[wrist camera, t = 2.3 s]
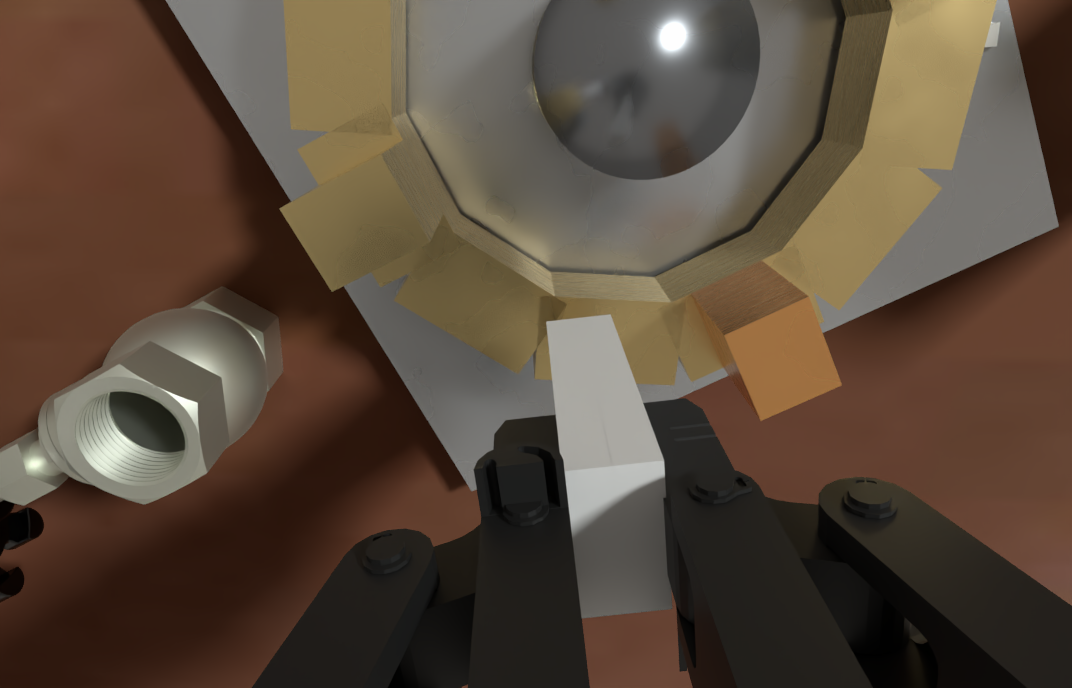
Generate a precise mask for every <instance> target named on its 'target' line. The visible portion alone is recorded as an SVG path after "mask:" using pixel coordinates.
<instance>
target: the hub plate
mask: <svg viewBox="0 0 1072 688" xmlns="http://www.w3.org/2000/svg"><path fill="white" fill-rule="evenodd" d="M166 2H167V3H168V5H169V7H170V8H171V10H172V11H173V13H174V15H175V16H176V18H177V19H178V21H179V23H180V24H181V26H182V27H183V29H184V31H185V32H186V34H187V35H188V37H189V39H190V40H191V42H192V43H193V45H194V47H195V48H196V50H197V51H198V53H199V55H200V56H201V58H202V59H203V61H204V63H205V64H206V66H207V68H208V69H209V71H210V72H211V74H212V76H213V77H214V79H215V80H216V82H217V84H218V85H219V87H220V88H221V90H222V92H223V93H224V95H225V96H226V98H227V100H228V101H229V103H230V104H231V106H232V108H233V109H234V111H235V112H236V114H237V116H238V117H239V119H240V120H241V122H242V124H243V125H244V127H245V128H246V130H247V132H248V133H249V135H250V136H251V138H252V140H253V141H254V143H255V144H256V146H257V148H258V149H259V151H260V153H261V154H262V156H263V157H264V159H265V161H266V162H267V164H268V165H269V167H270V169H271V170H272V172H273V173H274V175H275V177H276V178H277V180H278V181H279V183H280V185H281V186H282V188H283V189H284V191H285V193H286V194H287V196H288V197H289V199H290V201H293V200H294V199H296V198H298V197H299V196H301V195H303V194H304V193H306V192H308V191H309V190H311V189H313V188H314V187H316V186H318V183H317V182H316V180H315V178H314V177H313V175H312V173H311V172H310V170H309V169H308V167H307V165H306V164H305V162H304V160H303V159H302V157H301V155H300V154H299V152H298V150H297V149H299V148H301V147H303V146H305V145H306V144H308V143H310V142H312V141H314V140H316V139H317V138H319V137H321V136H323V135H325V134H327V133H328V132H325V131H308V130H292V129H291V124H290V107H289V89H288V72H287V55H286V37H285V20H284V3H283V0H166ZM845 20H846V16H845V13H844V9H843V6H842V3H841V0H406V114H407V116H408V118H409V119H410V121H411V123H412V125H413V127H414V129H415V131H416V132H417V134H418V136H419V138H420V140H421V142H422V144H423V145H424V147H425V149H426V151H427V153H428V155H429V157H430V158H431V160H432V162H433V164H434V166H435V168H436V170H437V171H438V173H439V175H440V177H441V179H442V181H443V183H444V184H445V186H446V188H447V190H448V192H449V194H450V196H451V197H452V199H453V201H454V203H455V205H456V207H457V209H458V210H459V212H460V214H461V215H463V216H464V217H466V218H467V219H469V220H470V221H472V222H473V223H475V224H477V225H478V226H480V227H481V228H483V229H484V230H486V231H488V232H489V233H491V234H492V235H494V236H495V237H497V238H499V239H500V240H502V241H503V242H505V243H506V244H508V245H509V246H511V247H513V248H514V249H516V250H517V251H519V252H520V253H522V254H524V255H525V256H527V257H528V258H530V259H531V260H533V261H535V262H536V263H538V264H539V265H541V266H542V267H544V268H545V269H547V270H549V271H550V272H567V273H586V274H605V275H624V276H643V277H655V276H657V275H660V274H662V273H664V272H666V271H668V270H670V269H672V268H674V267H676V266H678V265H681V264H683V263H685V262H687V261H689V260H691V259H693V258H695V257H697V256H699V255H701V254H704V253H706V252H708V251H710V250H712V249H714V248H716V247H718V246H720V245H722V244H724V243H727V242H729V241H731V240H733V239H735V238H737V237H739V236H741V235H743V234H745V233H747V232H750V231H751V230H752V229H753V228H754V226H755V225H756V224H757V223H758V221H759V220H760V219H761V217H762V216H763V215H764V213H765V212H766V211H767V210H768V208H769V207H770V206H771V204H772V203H773V202H774V200H775V199H776V198H777V197H778V195H779V194H780V193H781V191H782V190H783V189H784V187H785V186H786V185H787V184H788V182H789V181H790V180H791V178H792V177H793V176H794V174H795V173H796V172H797V171H798V169H799V168H800V167H801V165H802V164H803V163H804V161H805V160H806V159H807V158H808V156H809V155H810V154H811V152H812V151H813V150H814V148H815V147H816V146H817V145H818V143H819V142H820V141H821V139H822V136H823V131H824V126H825V121H826V116H827V111H828V106H829V101H830V95H831V90H832V85H833V80H834V75H835V70H836V65H837V60H838V55H839V50H840V45H841V40H842V35H843V30H844V25H845ZM918 169H919V170H920V171H921V172H923V173H924V174H925V175H926V176H928V177H929V178H930V179H932V180H933V181H934V182H935V183H937V184H938V185H939V186H940V187H942V189H941V190H940V192H939V193H938V194H937V195H936V196H935V198H934V199H933V200H932V201H931V202H930V204H929V205H928V206H927V207H926V208H925V209H924V211H923V212H922V213H921V214H920V215H919V217H918V218H917V219H916V220H915V221H914V222H913V224H912V225H911V226H910V227H909V228H908V230H907V231H906V232H905V233H904V234H903V236H902V237H901V238H900V239H899V240H898V241H897V243H896V244H895V245H894V246H893V247H892V249H891V250H890V251H889V252H888V253H887V255H886V256H885V257H884V258H883V259H882V260H881V262H880V263H879V264H878V265H877V266H876V268H875V269H874V270H873V271H872V272H871V273H870V275H869V276H868V277H867V278H866V279H865V281H864V282H863V283H862V284H861V285H860V287H859V288H858V289H857V290H856V291H855V292H854V294H853V295H852V296H851V297H850V298H849V300H848V301H847V302H846V303H845V304H844V306H843V307H842V308H841V309H840V310H838V309H836V308H835V307H833V306H832V305H831V304H829V303H828V302H826V301H825V300H823V299H822V298H821V297H819V296H818V295H816V294H815V293H814V295H815V298H816V300H817V303H818V306H819V308H820V311H821V314H822V317H823V319H824V322H823V323H821V324H819V325H820V327H821V330H822V333H824V332H826V331H828V330H830V329H833V328H835V327H837V326H839V325H842V324H844V323H846V322H848V321H850V320H853V319H855V318H857V317H859V316H861V315H864V314H866V313H868V312H870V311H873V310H875V309H877V308H879V307H881V306H884V305H886V304H888V303H890V302H893V301H895V300H897V299H899V298H901V297H904V296H906V295H908V294H910V293H912V292H915V291H917V290H919V289H921V288H924V287H926V286H928V285H930V284H932V283H935V282H937V281H939V280H941V279H943V278H946V277H948V276H950V275H952V274H955V273H957V272H959V271H961V270H963V269H966V268H968V267H970V266H972V265H975V264H977V263H979V262H981V261H983V260H986V259H988V258H990V257H992V256H994V255H997V254H999V253H1001V252H1003V251H1006V250H1008V249H1010V248H1012V247H1014V246H1017V245H1019V244H1021V243H1023V242H1025V241H1028V240H1030V239H1032V238H1034V237H1037V236H1039V235H1041V234H1043V233H1045V232H1048V231H1050V230H1052V229H1054V228H1057V227H1059V225H1058V220H1057V216H1056V211H1055V207H1054V203H1053V198H1052V194H1051V189H1050V185H1049V181H1048V176H1047V172H1046V167H1045V163H1044V158H1043V154H1042V150H1041V145H1040V141H1039V136H1038V132H1037V128H1036V123H1035V119H1034V114H1033V110H1032V105H1031V101H1030V97H1029V92H1028V88H1027V83H1026V79H1025V75H1024V70H1023V66H1022V61H1021V57H1020V52H1019V48H1018V44H1017V39H1016V35H1015V30H1014V26H1013V22H1012V17H1011V13H1010V8H1009V4H1008V0H997V2H996V5H995V9H994V13H993V17H992V21H991V24H990V28H989V32H988V36H987V39H986V43H985V47H984V51H983V55H982V58H981V62H980V66H979V70H978V74H977V77H976V81H975V85H974V89H973V92H972V96H971V100H970V104H969V108H968V111H967V115H966V119H965V123H964V127H963V130H962V134H961V138H960V142H959V145H958V149H957V153H956V157H955V161H954V164H953V168H952V170H944V169H927V168H918ZM406 275H407V274H406ZM406 275H404V276H402V277H400V278H398V279H396V280H394V281H392V282H390V283H388V284H386V285H384V286H383V287H381V288H380V286H379V284H378V283H377V281H376V279H375V278H374V276H373V274H372V273H371V272H370V273H369V274H367V275H365V276H363V277H361V278H359V279H357V280H355V281H353V282H351V283H349V284H347V285H345V286H344V287H345V289H346V290H347V292H348V294H349V295H350V297H351V298H352V300H353V302H354V303H355V305H356V306H357V308H358V310H359V311H360V313H361V314H362V316H363V318H364V319H365V321H366V323H367V324H368V326H369V327H370V329H371V331H372V332H373V334H374V335H375V337H376V339H377V340H378V342H379V343H380V345H381V347H382V348H383V350H384V351H385V353H386V355H387V356H388V358H389V359H390V361H391V363H392V364H393V366H394V367H395V369H396V371H397V372H398V374H399V375H400V377H401V379H402V380H403V382H404V383H405V385H406V387H407V388H408V390H409V391H410V393H411V395H412V396H413V398H414V400H415V401H416V403H417V404H418V406H419V408H420V409H421V411H422V412H423V414H424V416H425V417H426V419H427V420H428V422H429V424H430V425H431V427H432V428H433V430H434V432H435V433H436V435H437V436H438V438H439V440H440V441H441V443H442V444H443V446H444V448H445V449H446V451H447V452H448V454H449V456H450V457H451V459H452V460H453V462H454V464H455V465H456V467H457V468H458V470H459V472H460V473H461V475H462V476H463V478H464V480H465V481H466V483H467V485H468V486H469V488H470V489H471V491H474V490H476V489H477V487H476V481H475V475H474V467H475V465H476V463H477V461H478V460H479V459H480V458H481V457H482V456H484V455H485V454H486V453H487V452H489V451H491V450H493V446H494V434H495V433H496V431H497V430H498V429H499V428H500V426H501V425H502V424H503V423H504V422H505V420H511V419H520V418H529V417H538V416H547V415H556V412H555V402H554V393H553V383H552V380H541V379H535V377H534V364H533V354H532V356H531V357H530V358H529V360H528V361H527V363H526V364H525V366H524V367H523V368H522V370H521V371H520V373H519V374H517V373H515V372H513V371H512V370H510V369H508V368H507V367H505V366H503V365H502V364H500V363H498V362H496V361H495V360H493V359H491V358H490V357H488V356H486V355H485V354H483V353H481V352H480V351H478V350H476V349H475V348H473V347H471V346H469V345H468V344H466V343H464V342H463V341H461V340H459V339H458V338H456V337H454V336H453V335H451V334H449V333H448V332H446V331H444V330H443V329H441V328H439V327H437V326H436V325H434V324H432V323H431V322H429V321H427V320H426V319H424V318H422V317H421V316H419V315H417V314H416V313H414V312H412V311H410V310H409V309H407V308H405V307H404V306H402V305H400V304H399V303H397V302H395V301H394V299H395V297H396V295H397V293H398V291H399V289H400V287H401V285H402V283H403V281H404V279H405V277H406ZM726 376H729V375H728V374H727V372H726V371H725V370H724V368H722V369H719V370H717V371H715V372H713V373H710V374H708V375H706V376H704V377H702V378H699V379H697V380H695V381H693V382H691V381H690V379H689V377H688V375H687V374H686V372H685V370H684V368H683V367H682V365H681V363H680V361H679V360H678V364H677V371H676V378H675V385H654V384H636V385H637V388H638V391H639V393H640V396H641V399H642V401H643V403H647V402H656V401H665V400H674V399H678V398H680V397H682V396H684V395H686V394H689V393H691V392H693V391H695V390H697V389H700V388H702V387H704V386H706V385H709V384H711V383H713V382H715V381H717V380H720V379H722V378H724V377H726Z"/></svg>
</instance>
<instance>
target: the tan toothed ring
mask: <svg viewBox="0 0 1072 688" xmlns="http://www.w3.org/2000/svg"><path fill="white" fill-rule="evenodd" d="M996 2H997V0H841V3H842V6H843V9H844V13H845V16H846V20H845V25H844V30H843V35H842V40H841V45H840V50H839V55H838V60H837V65H836V70H835V75H834V80H833V85H832V90H831V95H830V101H829V106H828V111H827V116H826V121H825V126H824V131H823V136H822V139H821V141H820V142H819V143H818V145H817V146H816V147H815V148H814V150H813V151H812V152H811V154H810V155H809V156H808V158H807V159H806V160H805V161H804V163H803V164H802V165H801V167H800V168H799V169H798V171H797V172H796V173H795V174H794V176H793V177H792V178H791V180H790V181H789V182H788V184H787V185H786V186H785V187H784V189H783V190H782V191H781V193H780V194H779V195H778V197H777V198H776V199H775V200H774V202H773V203H772V204H771V206H770V207H769V208H768V210H767V211H766V212H765V213H764V215H763V216H762V217H761V219H760V220H759V221H758V223H757V224H756V225H755V226H754V228H753V229H752V230H751V231H750V232H747V233H745V234H743V235H741V236H739V237H737V238H735V239H733V240H731V241H729V242H727V243H724V244H722V245H720V246H718V247H716V248H714V249H712V250H710V251H708V252H706V253H704V254H701V255H699V256H697V257H695V258H693V259H691V260H689V261H687V262H685V263H683V264H681V265H678V266H676V267H674V268H672V269H670V270H668V271H666V272H664V273H662V274H660V275H657V276H655V277H643V276H624V275H605V274H586V273H567V272H550V271H549V270H547V269H545V268H544V267H542V266H541V265H539V264H538V263H536V262H535V261H533V260H531V259H530V258H528V257H527V256H525V255H524V254H522V253H520V252H519V251H517V250H516V249H514V248H513V247H511V246H509V245H508V244H506V243H505V242H503V241H502V240H500V239H499V238H497V237H495V236H494V235H492V234H491V233H489V232H488V231H486V230H484V229H483V228H481V227H480V226H478V225H477V224H475V223H473V222H472V221H470V220H469V219H467V218H466V217H464V216H463V215H461V214H460V212H459V210H458V209H457V207H456V205H455V203H454V201H453V199H452V197H451V196H450V194H449V192H448V190H447V188H446V186H445V184H444V183H443V181H442V179H441V177H440V175H439V173H438V171H437V170H436V168H435V166H434V164H433V162H432V160H431V158H430V157H429V155H428V153H427V151H426V149H425V147H424V145H423V144H422V142H421V140H420V138H419V136H418V134H417V132H416V131H415V129H414V127H413V125H412V123H411V121H410V119H409V118H408V116H407V114H406V0H283V3H284V20H285V37H286V55H287V72H288V89H289V107H290V124H291V129H292V130H308V131H325V132H328V133H327V134H325V135H323V136H321V137H319V138H317V139H316V140H314V141H312V142H310V143H308V144H306V145H305V146H303V147H301V148H299V149H297V150H298V152H299V154H300V155H301V157H302V159H303V160H304V162H305V164H306V165H307V167H308V169H309V170H310V172H311V173H312V175H313V177H314V178H315V180H316V182H317V183H318V186H316V187H314V188H313V189H311V190H309V191H308V192H306V193H304V194H303V195H301V196H299V197H298V198H296V199H294V200H293V201H291V202H289V203H288V204H286V205H284V206H283V207H281V208H279V209H280V211H281V212H282V214H283V216H284V217H285V219H286V220H287V222H288V223H289V225H290V227H291V228H292V230H293V231H294V233H295V234H296V236H297V238H298V239H299V241H300V242H301V244H302V246H303V247H304V249H305V250H306V252H307V253H308V255H309V257H310V258H311V260H312V261H313V263H314V265H315V266H316V268H317V269H318V271H319V272H320V274H321V276H322V277H323V279H324V280H325V282H326V284H327V285H328V287H329V288H330V290H331V291H332V292H333V291H335V290H337V289H339V288H341V287H343V286H345V285H347V284H349V283H351V282H353V281H355V280H357V279H359V278H361V277H363V276H365V275H367V274H369V273H370V272H371V273H372V274H373V276H374V278H375V279H376V281H377V283H378V284H379V286H380V288H381V287H383V286H384V285H386V284H388V283H390V282H392V281H394V280H396V279H398V278H400V277H402V276H404V275H406V274H407V275H406V277H405V279H404V281H403V283H402V285H401V287H400V289H399V291H398V293H397V295H396V297H395V299H394V301H395V302H397V303H399V304H400V305H402V306H404V307H405V308H407V309H409V310H410V311H412V312H414V313H416V314H417V315H419V316H421V317H422V318H424V319H426V320H427V321H429V322H431V323H432V324H434V325H436V326H437V327H439V328H441V329H443V330H444V331H446V332H448V333H449V334H451V335H453V336H454V337H456V338H458V339H459V340H461V341H463V342H464V343H466V344H468V345H469V346H471V347H473V348H475V349H476V350H478V351H480V352H481V353H483V354H485V355H486V356H488V357H490V358H491V359H493V360H495V361H496V362H498V363H500V364H502V365H503V366H505V367H507V368H508V369H510V370H512V371H513V372H515V373H517V374H519V373H520V371H521V370H522V368H523V367H524V366H525V364H526V363H527V361H528V360H529V358H530V357H531V356H532V354H533V364H534V377H535V379H541V380H552V373H551V364H550V354H549V345H548V335H547V325H546V322H547V321H556V320H564V319H573V318H582V317H591V316H600V315H608V314H611V317H612V320H613V322H614V325H615V328H616V331H617V333H618V336H619V339H620V341H621V344H622V347H623V350H624V352H625V355H626V358H627V361H628V363H629V366H630V369H631V371H632V374H633V377H634V380H635V382H636V384H654V385H675V378H676V371H677V364H678V360H679V361H680V363H681V365H682V367H683V368H684V370H685V372H686V374H687V375H688V377H689V379H690V381H691V382H693V381H695V380H697V379H699V378H702V377H704V376H706V375H708V374H710V373H713V372H715V371H717V370H719V369H722V368H724V370H725V371H726V372H727V374H728V375H729V377H730V378H731V379H732V381H733V382H734V384H735V385H736V387H737V388H738V389H739V391H740V392H741V394H742V395H743V396H744V398H745V399H746V401H747V402H748V403H749V405H750V406H751V408H752V409H753V411H754V412H755V413H756V415H757V416H758V418H759V419H760V420H761V421H762V420H764V419H766V418H768V417H771V416H773V415H775V414H778V413H780V412H782V411H784V410H787V409H789V408H791V407H794V406H796V405H798V404H800V403H803V402H805V401H807V400H809V399H812V398H814V397H816V396H819V395H821V394H823V393H825V392H828V391H830V390H832V389H835V388H837V387H839V386H841V385H842V384H841V381H840V379H839V376H838V373H837V370H836V368H835V365H834V362H833V360H832V357H831V354H830V352H829V349H828V346H827V344H826V341H825V338H824V336H823V333H822V330H821V327H820V325H819V324H821V323H823V322H824V319H823V317H822V314H821V311H820V308H819V306H818V303H817V300H816V298H815V295H814V293H815V294H816V295H818V296H819V297H821V298H822V299H823V300H825V301H826V302H828V303H829V304H831V305H832V306H833V307H835V308H836V309H838V310H840V309H841V308H842V307H843V306H844V304H845V303H846V302H847V301H848V300H849V298H850V297H851V296H852V295H853V294H854V292H855V291H856V290H857V289H858V288H859V287H860V285H861V284H862V283H863V282H864V281H865V279H866V278H867V277H868V276H869V275H870V273H871V272H872V271H873V270H874V269H875V268H876V266H877V265H878V264H879V263H880V262H881V260H882V259H883V258H884V257H885V256H886V255H887V253H888V252H889V251H890V250H891V249H892V247H893V246H894V245H895V244H896V243H897V241H898V240H899V239H900V238H901V237H902V236H903V234H904V233H905V232H906V231H907V230H908V228H909V227H910V226H911V225H912V224H913V222H914V221H915V220H916V219H917V218H918V217H919V215H920V214H921V213H922V212H923V211H924V209H925V208H926V207H927V206H928V205H929V204H930V202H931V201H932V200H933V199H934V198H935V196H936V195H937V194H938V193H939V192H940V190H941V189H942V187H940V186H939V185H938V184H937V183H935V182H934V181H933V180H932V179H930V178H929V177H928V176H926V175H925V174H924V173H923V172H921V171H920V170H919V169H918V168H927V169H944V170H952V168H953V164H954V161H955V157H956V153H957V149H958V145H959V142H960V138H961V134H962V130H963V127H964V123H965V119H966V115H967V111H968V108H969V104H970V100H971V96H972V92H973V89H974V85H975V81H976V77H977V74H978V70H979V66H980V62H981V58H982V55H983V51H984V47H985V43H986V39H987V36H988V32H989V28H990V24H991V21H992V17H993V13H994V9H995V5H996Z"/></svg>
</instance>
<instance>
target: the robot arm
mask: <svg viewBox="0 0 1072 688" xmlns="http://www.w3.org/2000/svg"><path fill="white" fill-rule="evenodd" d="M546 325H547V335H548V345H549V354H550V364H551V373H552V383H553V393H554V402H555V412H556V415H547V416H538V417H529V418H520V419H511V420H505V422H504V423H503V424H502V425H501V426H500V428H499V429H498V430H497V431H496V433H495V434H494V446H493V450H491V451H489V452H487V453H486V454H485V455H484V456H482V457H481V458H480V459H479V460H478V461H477V463H476V465H475V467H474V475H475V481H476V487H477V493H478V499H479V505H480V511H481V524H480V525H479V526H478V527H476V528H475V529H474V530H473V531H471V532H469V533H468V534H466V535H465V536H463V537H460V538H458V539H455V540H453V541H450V542H447V543H444V544H441V545H438V546H435V547H433V545H432V543H431V540H430V538H429V537H427V536H426V535H424V534H423V533H421V532H419V531H414V530H409V529H396V530H387V531H383V532H381V533H377V534H374V535H371V536H369V537H367V538H366V539H364V540H362V541H361V542H359V543H357V544H356V545H355V546H354V547H353V548H352V549H351V550H350V551H349V552H348V553H347V554H346V555H345V556H344V557H343V559H342V560H341V561H340V563H339V564H338V566H337V567H336V569H335V570H334V571H333V573H332V574H331V576H330V577H329V579H328V580H327V581H326V583H325V584H324V586H323V587H322V589H321V590H320V591H319V593H318V594H317V596H316V597H315V598H314V600H313V601H312V603H311V604H310V606H309V607H308V608H307V610H306V611H305V613H304V614H303V616H302V617H301V618H300V620H299V621H298V623H297V624H296V626H295V627H294V628H293V630H292V631H291V633H290V634H289V635H288V637H287V638H286V640H285V641H284V643H283V644H282V645H281V647H280V648H279V650H278V651H277V653H276V654H275V655H274V657H273V658H272V660H271V661H270V663H269V664H268V665H267V667H266V668H265V670H264V671H263V672H262V674H261V675H260V677H259V678H258V680H257V681H256V682H255V684H254V685H253V687H252V688H461V687H462V686H465V685H467V684H468V688H590V686H589V677H588V669H587V660H586V651H585V643H584V634H583V626H582V618H589V617H599V616H609V615H618V614H628V613H637V612H647V611H656V610H666V609H672V597H671V588H672V592H673V595H674V599H675V602H676V607H677V626H678V646H679V665H680V671H687V668H688V672H689V675H690V679H691V683H692V686H693V688H1072V606H1071V605H1070V604H1068V603H1067V602H1065V601H1064V600H1062V599H1061V598H1060V597H1058V596H1057V595H1055V594H1054V593H1053V592H1051V591H1050V590H1048V589H1047V588H1045V587H1044V586H1043V585H1041V584H1040V583H1038V582H1037V581H1036V580H1034V579H1033V578H1031V577H1030V576H1028V575H1027V574H1026V573H1024V572H1023V571H1021V570H1020V569H1018V568H1017V567H1016V566H1014V565H1013V564H1011V563H1010V562H1009V561H1007V560H1006V559H1004V558H1003V557H1001V556H1000V555H999V554H997V553H996V552H994V551H993V550H992V549H990V548H989V547H987V546H986V545H984V544H983V543H982V542H980V541H979V540H977V539H976V538H974V537H973V536H972V535H970V534H969V533H967V532H966V531H965V530H963V529H962V528H960V527H959V526H957V525H956V524H955V523H953V522H952V521H950V520H949V519H947V518H946V517H945V516H943V515H942V514H940V513H939V512H938V511H936V510H935V509H933V508H932V507H930V506H929V505H928V504H926V503H925V502H923V501H922V500H921V499H919V498H918V497H916V496H915V495H913V494H912V493H911V492H909V491H907V490H905V489H903V488H901V487H899V486H897V485H895V484H893V483H890V482H886V481H882V480H878V479H875V478H867V477H866V478H864V477H853V478H846V479H839V480H836V481H834V482H832V483H830V484H827V485H826V486H825V487H824V488H823V489H822V490H821V492H820V493H819V505H814V504H803V503H792V502H785V501H779V500H774V499H771V498H768V497H765V496H764V494H763V492H762V490H761V489H760V487H759V485H758V484H757V483H756V482H755V481H754V480H753V479H752V478H751V477H749V476H747V475H745V474H743V473H741V472H739V471H735V470H734V468H733V466H732V464H731V462H730V460H729V459H728V457H727V455H726V453H725V451H724V449H723V447H722V445H721V444H720V442H719V440H718V438H717V437H716V435H715V432H714V430H713V429H712V427H711V425H710V424H709V421H708V419H707V417H706V415H705V413H704V412H703V410H702V409H701V408H700V407H698V406H697V405H695V404H693V403H692V402H690V401H689V400H687V399H685V398H684V399H674V400H665V401H656V402H647V403H643V401H642V399H641V396H640V393H639V391H638V388H637V385H636V382H635V380H634V377H633V374H632V371H631V369H630V366H629V363H628V361H627V358H626V355H625V352H624V350H623V347H622V344H621V341H620V339H619V336H618V333H617V331H616V328H615V325H614V322H613V320H612V317H611V314H608V315H600V316H591V317H582V318H573V319H564V320H556V321H547V322H546ZM912 624H913V625H914V626H913V625H912Z"/></svg>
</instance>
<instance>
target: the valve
mask: <svg viewBox="0 0 1072 688" xmlns="http://www.w3.org/2000/svg"><path fill="white" fill-rule="evenodd" d="M282 373H283V361H282V350H281V339H280V328H279V318H278V316H276V315H275V314H273V313H271V312H269V311H268V310H266V309H264V308H262V307H260V306H258V305H257V304H255V303H253V302H251V301H249V300H247V299H246V298H244V297H242V296H240V295H238V294H236V293H234V292H233V291H231V290H229V289H227V288H225V287H220V288H218V289H216V290H214V291H212V292H211V293H209V294H207V295H205V296H203V297H202V298H200V299H198V300H196V301H194V302H192V303H191V304H189V305H187V306H185V307H183V308H180V309H171V310H167V311H163V312H159V313H156V314H153V315H151V316H149V317H147V318H145V319H143V320H141V321H139V322H137V323H136V324H134V325H133V326H132V327H130V328H129V329H128V330H127V331H125V332H124V333H123V334H122V335H121V336H120V337H119V339H118V340H117V341H116V342H115V343H114V345H113V346H112V347H111V349H110V350H109V352H108V354H107V356H106V358H105V360H104V362H103V365H102V367H101V368H99V369H97V370H95V371H94V372H92V373H90V374H88V375H87V376H86V377H84V378H83V379H81V380H79V381H77V382H76V383H74V384H72V385H70V386H68V387H66V388H65V389H63V390H61V391H59V392H57V393H55V394H54V395H52V396H50V397H49V398H48V399H47V400H46V401H45V402H44V404H43V406H42V408H41V410H40V413H39V418H38V428H37V429H35V430H33V431H31V432H29V433H27V434H26V435H24V436H22V437H20V438H18V439H16V440H14V441H13V442H11V443H9V444H7V445H5V446H4V447H2V448H1V449H0V556H1V554H2V552H3V549H7V550H12V549H16V548H18V547H20V546H22V545H24V544H25V543H27V542H29V541H31V540H33V539H35V538H37V537H39V536H40V535H41V533H42V532H43V528H44V522H43V519H42V517H41V515H40V514H39V513H38V512H37V511H36V510H34V509H32V508H28V507H27V508H25V509H23V510H21V511H19V512H17V513H10V512H11V511H12V509H13V507H14V504H19V505H26V504H28V503H30V502H31V501H33V500H35V499H37V498H39V497H41V496H43V495H45V494H47V493H49V492H51V491H53V490H54V489H56V488H58V487H59V486H60V485H61V484H62V483H63V482H64V481H66V480H67V479H68V478H69V477H72V478H73V479H75V480H77V481H80V482H82V483H86V484H90V485H94V486H96V487H98V488H100V489H102V490H104V491H106V492H108V493H111V494H113V495H116V496H119V497H121V498H124V499H127V500H130V501H133V502H137V503H141V504H144V505H145V504H148V503H150V502H153V501H155V500H157V499H160V498H162V497H164V496H166V495H168V494H170V493H172V492H174V491H176V490H178V489H180V488H182V487H184V486H185V485H187V484H189V483H191V482H193V481H194V480H196V479H198V478H199V477H201V476H203V475H204V474H206V473H208V471H209V470H210V469H211V467H212V466H213V465H214V463H215V462H216V461H217V459H218V458H219V457H220V455H221V454H222V453H223V451H224V450H225V449H226V447H228V446H230V445H231V444H233V443H234V442H236V441H237V440H238V439H239V438H240V437H242V436H243V435H244V434H245V433H246V432H247V431H248V429H249V428H250V427H251V426H252V425H253V423H254V422H255V420H256V419H257V417H258V415H259V414H260V411H261V409H262V407H263V404H264V401H265V398H266V394H267V391H269V390H270V389H271V387H272V386H273V385H274V383H275V382H276V381H277V379H278V378H279V377H280V375H281V374H282ZM23 585H24V575H23V572H22V571H21V569H20V568H19V567H16V568H14V569H12V570H10V571H8V572H6V571H5V570H3V569H2V568H0V602H2V601H4V600H6V599H8V598H10V597H12V596H14V595H16V594H18V593H19V592H20V591H21V589H22V588H23Z"/></svg>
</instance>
